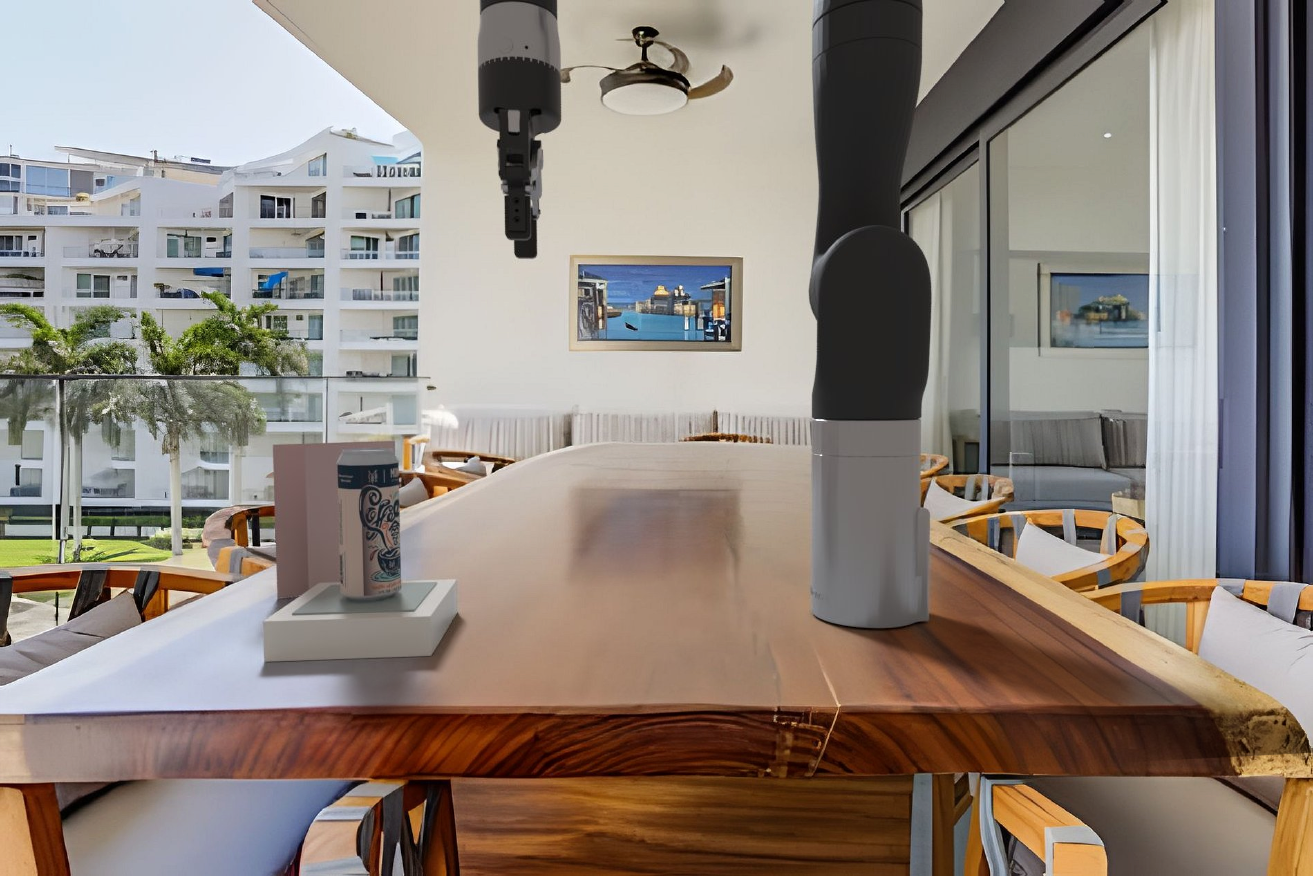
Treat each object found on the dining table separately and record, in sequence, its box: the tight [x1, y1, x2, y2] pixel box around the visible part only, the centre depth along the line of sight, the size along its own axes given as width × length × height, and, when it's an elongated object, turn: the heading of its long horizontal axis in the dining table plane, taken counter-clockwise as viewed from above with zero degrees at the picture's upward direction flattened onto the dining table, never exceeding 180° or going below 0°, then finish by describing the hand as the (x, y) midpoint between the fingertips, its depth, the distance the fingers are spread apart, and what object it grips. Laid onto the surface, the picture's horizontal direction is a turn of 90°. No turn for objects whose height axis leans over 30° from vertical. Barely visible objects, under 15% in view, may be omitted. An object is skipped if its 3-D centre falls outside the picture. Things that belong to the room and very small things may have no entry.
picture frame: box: [262, 578, 459, 663], centre depth 63 cm, size 12×12×3 cm
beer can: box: [336, 448, 402, 602], centre depth 63 cm, size 5×5×12 cm
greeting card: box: [272, 440, 396, 599], centre depth 75 cm, size 11×7×15 cm, turn 121°
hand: (522, 249), depth 71 cm, fingers open, 8 cm apart
